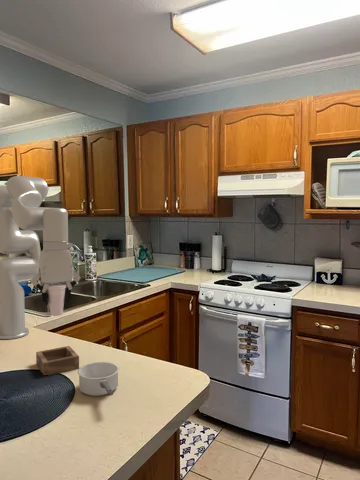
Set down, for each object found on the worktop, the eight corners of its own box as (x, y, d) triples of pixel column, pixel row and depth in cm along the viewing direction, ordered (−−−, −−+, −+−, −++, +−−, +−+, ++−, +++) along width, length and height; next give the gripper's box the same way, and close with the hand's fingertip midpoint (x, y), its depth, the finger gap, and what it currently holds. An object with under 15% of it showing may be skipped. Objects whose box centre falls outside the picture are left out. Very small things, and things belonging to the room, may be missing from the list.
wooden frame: (36, 363, 119) (36, 352, 118) (69, 357, 125) (69, 345, 124) (43, 376, 110) (43, 363, 109) (79, 368, 116) (79, 356, 115)
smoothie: (70, 311, 119) (69, 269, 118) (62, 317, 113) (61, 273, 111) (51, 311, 120) (50, 269, 118) (42, 316, 113) (41, 272, 112)
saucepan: (87, 419, 87) (87, 397, 87) (75, 383, 105) (74, 365, 105) (133, 409, 92) (133, 387, 92) (113, 376, 110) (113, 359, 110)
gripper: (79, 245, 122) (79, 297, 124) (24, 247, 113) (25, 303, 114) (86, 246, 116) (86, 302, 117) (29, 249, 107) (30, 309, 108)
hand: (56, 302), depth 116 cm, fingers closed on smoothie, 6 cm apart
